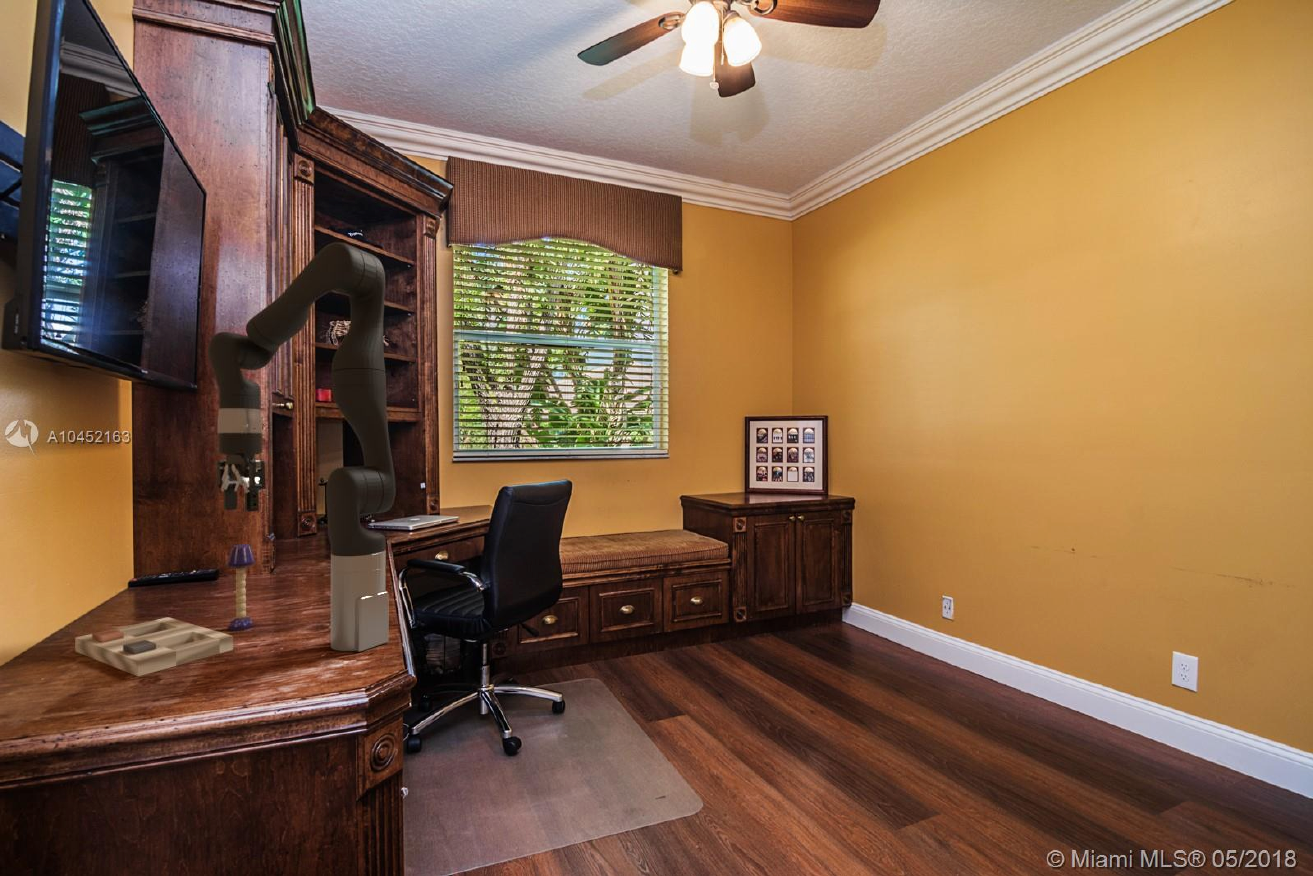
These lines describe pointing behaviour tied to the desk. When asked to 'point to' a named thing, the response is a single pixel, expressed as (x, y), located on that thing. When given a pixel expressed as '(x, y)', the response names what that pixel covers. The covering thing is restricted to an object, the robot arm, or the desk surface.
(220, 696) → the desk surface
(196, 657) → the socket board
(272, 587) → the desk surface
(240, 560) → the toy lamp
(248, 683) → the desk surface
